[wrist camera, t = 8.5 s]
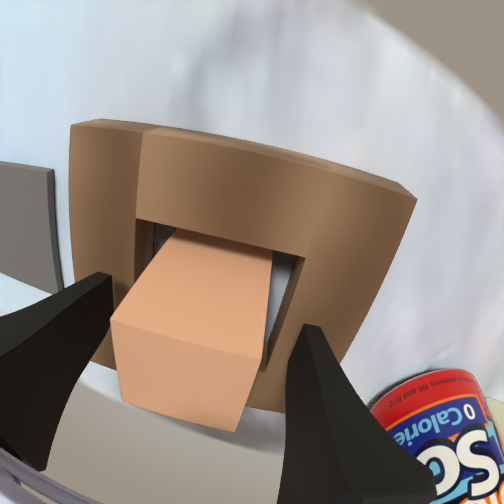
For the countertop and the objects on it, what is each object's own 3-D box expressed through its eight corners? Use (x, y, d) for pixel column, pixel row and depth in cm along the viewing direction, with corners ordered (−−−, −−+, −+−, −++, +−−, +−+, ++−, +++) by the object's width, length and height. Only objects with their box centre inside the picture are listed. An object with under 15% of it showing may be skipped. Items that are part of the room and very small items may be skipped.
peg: (171, 302, 15) (122, 401, 9) (177, 226, 13) (110, 318, 7) (253, 322, 15) (234, 432, 9) (273, 249, 13) (261, 359, 7)
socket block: (103, 336, 16) (87, 362, 14) (99, 118, 11) (67, 125, 9) (306, 388, 16) (307, 419, 15) (398, 182, 11) (419, 201, 9)
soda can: (410, 436, 19) (430, 603, 6) (338, 416, 18) (339, 633, 4) (489, 376, 15) (546, 560, 2) (430, 340, 14) (495, 610, 1)
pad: (-11, 261, 15) (-16, 265, 15) (-25, 158, 12) (-31, 160, 11) (63, 291, 15) (59, 296, 15) (53, 169, 12) (46, 172, 11)
